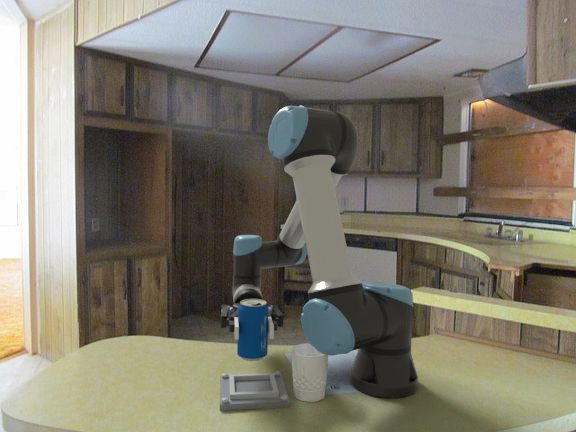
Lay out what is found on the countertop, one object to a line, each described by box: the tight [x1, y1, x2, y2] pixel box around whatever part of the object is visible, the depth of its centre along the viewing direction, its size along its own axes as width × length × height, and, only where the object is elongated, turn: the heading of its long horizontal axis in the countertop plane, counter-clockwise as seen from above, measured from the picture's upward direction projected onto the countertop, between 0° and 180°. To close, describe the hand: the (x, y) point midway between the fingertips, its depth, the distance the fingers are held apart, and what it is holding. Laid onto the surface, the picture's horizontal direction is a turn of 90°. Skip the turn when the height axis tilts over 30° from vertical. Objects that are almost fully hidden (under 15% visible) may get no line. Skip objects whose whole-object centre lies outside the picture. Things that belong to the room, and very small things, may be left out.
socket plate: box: [219, 371, 290, 411], centre depth 102 cm, size 14×14×2 cm
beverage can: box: [236, 299, 269, 362], centre depth 101 cm, size 6×6×12 cm
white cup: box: [291, 342, 329, 403], centre depth 101 cm, size 8×8×10 cm
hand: (254, 332), depth 96 cm, fingers closed on beverage can, 6 cm apart
